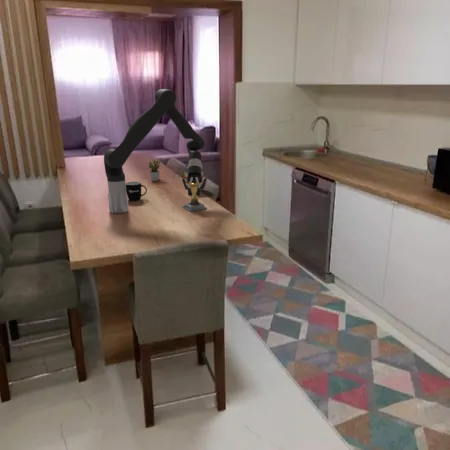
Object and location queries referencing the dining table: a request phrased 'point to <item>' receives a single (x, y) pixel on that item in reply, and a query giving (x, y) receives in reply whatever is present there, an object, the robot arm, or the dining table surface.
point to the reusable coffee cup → (187, 175)
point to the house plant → (154, 169)
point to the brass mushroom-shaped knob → (194, 192)
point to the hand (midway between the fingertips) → (194, 195)
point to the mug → (134, 190)
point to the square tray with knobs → (194, 206)
